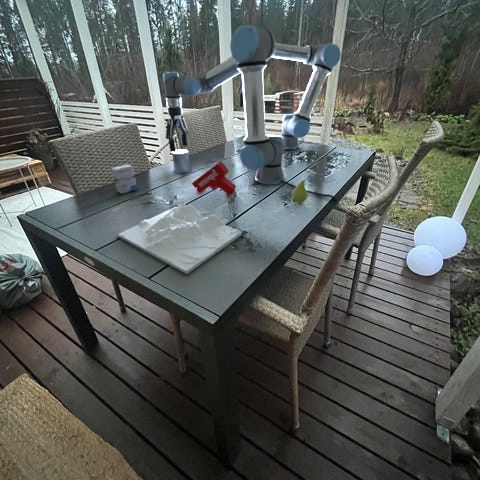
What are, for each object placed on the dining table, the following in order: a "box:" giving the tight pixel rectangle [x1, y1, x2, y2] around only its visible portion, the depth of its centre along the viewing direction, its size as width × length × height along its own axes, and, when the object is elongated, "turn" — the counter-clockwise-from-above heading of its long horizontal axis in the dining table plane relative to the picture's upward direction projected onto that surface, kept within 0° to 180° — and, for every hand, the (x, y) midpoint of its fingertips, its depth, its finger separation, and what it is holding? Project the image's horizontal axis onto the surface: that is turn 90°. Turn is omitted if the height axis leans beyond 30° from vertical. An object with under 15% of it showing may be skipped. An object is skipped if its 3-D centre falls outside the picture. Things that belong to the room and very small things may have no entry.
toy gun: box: [191, 161, 237, 197], centre depth 128 cm, size 18×4×15 cm
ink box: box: [110, 164, 138, 195], centre depth 131 cm, size 8×5×12 cm, turn 135°
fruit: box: [291, 174, 311, 204], centre depth 118 cm, size 7×8×12 cm
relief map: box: [117, 202, 243, 275], centre depth 96 cm, size 27×35×5 cm
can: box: [171, 149, 191, 174], centre depth 156 cm, size 9×9×11 cm
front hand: (179, 148), depth 152 cm, fingers open, 13 cm apart
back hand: (248, 107), depth 170 cm, fingers open, 13 cm apart
